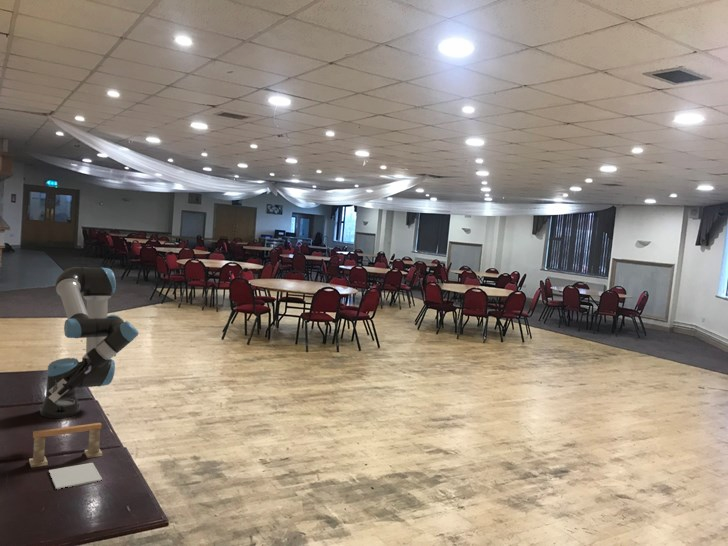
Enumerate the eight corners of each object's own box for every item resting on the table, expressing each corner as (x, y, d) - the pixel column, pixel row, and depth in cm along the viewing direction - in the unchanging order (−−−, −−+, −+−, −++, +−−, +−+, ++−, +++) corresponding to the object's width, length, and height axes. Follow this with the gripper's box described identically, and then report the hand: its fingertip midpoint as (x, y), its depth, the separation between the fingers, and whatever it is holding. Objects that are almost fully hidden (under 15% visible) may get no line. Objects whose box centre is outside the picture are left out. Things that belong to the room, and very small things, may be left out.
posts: (31, 467, 191) (32, 440, 190) (29, 462, 195) (30, 434, 194) (102, 455, 206) (103, 430, 205) (98, 450, 210) (100, 425, 209)
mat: (48, 471, 190) (48, 470, 190) (92, 464, 199) (92, 462, 199) (56, 489, 179) (56, 488, 179) (102, 480, 188) (102, 479, 188)
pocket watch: (78, 403, 213) (80, 378, 212) (59, 410, 205) (61, 384, 204) (63, 398, 216) (64, 374, 215) (44, 405, 208) (45, 379, 207)
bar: (33, 438, 192) (33, 433, 192) (32, 436, 193) (33, 431, 193) (101, 428, 206) (101, 424, 206) (100, 427, 207) (100, 422, 207)
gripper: (110, 367, 208) (59, 412, 201) (106, 353, 225) (58, 393, 218) (96, 354, 205) (43, 399, 198) (93, 340, 221) (44, 381, 215)
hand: (51, 396), depth 208 cm, fingers closed on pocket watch, 7 cm apart
